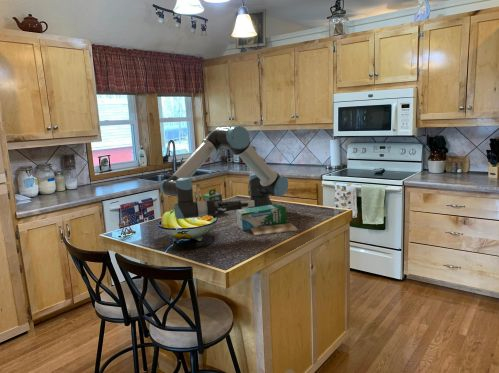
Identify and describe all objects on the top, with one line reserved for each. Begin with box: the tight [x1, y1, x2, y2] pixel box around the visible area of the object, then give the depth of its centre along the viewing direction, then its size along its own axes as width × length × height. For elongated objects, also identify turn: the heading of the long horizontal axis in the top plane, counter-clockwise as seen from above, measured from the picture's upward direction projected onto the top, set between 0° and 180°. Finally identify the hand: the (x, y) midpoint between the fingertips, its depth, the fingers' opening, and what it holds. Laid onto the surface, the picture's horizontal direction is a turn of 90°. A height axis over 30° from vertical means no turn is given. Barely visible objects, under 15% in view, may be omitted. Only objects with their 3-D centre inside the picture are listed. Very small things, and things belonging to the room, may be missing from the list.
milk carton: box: [235, 203, 288, 231], centre depth 208 cm, size 9×9×25 cm
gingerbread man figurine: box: [118, 212, 137, 235], centre depth 206 cm, size 9×4×12 cm, turn 143°
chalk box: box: [202, 188, 223, 215], centre depth 240 cm, size 9×9×15 cm
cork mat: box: [250, 222, 299, 237], centre depth 199 cm, size 22×12×1 cm, turn 100°
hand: (254, 203), depth 194 cm, fingers closed
